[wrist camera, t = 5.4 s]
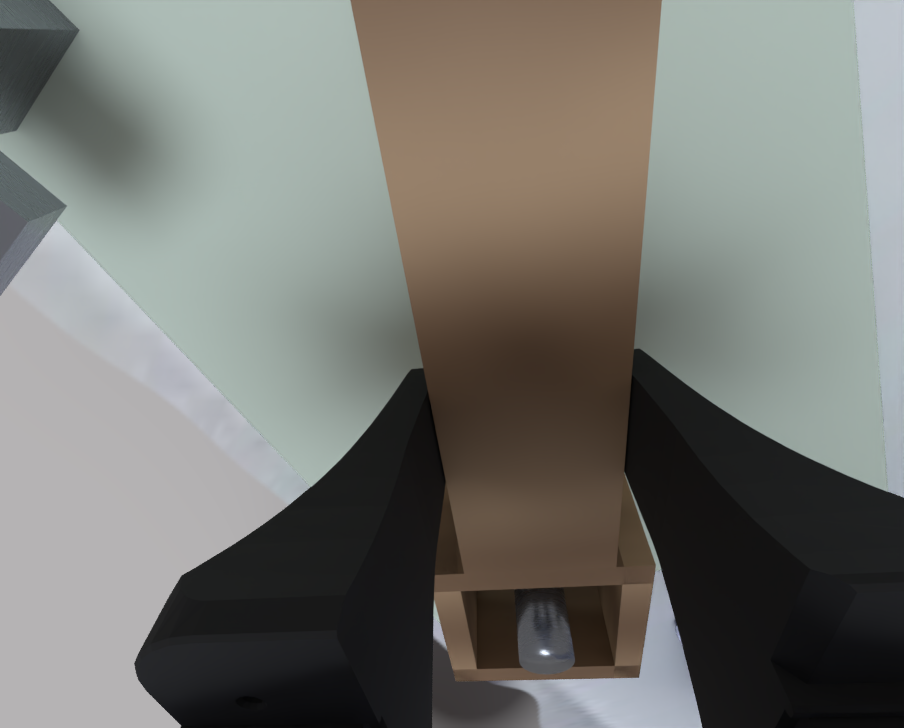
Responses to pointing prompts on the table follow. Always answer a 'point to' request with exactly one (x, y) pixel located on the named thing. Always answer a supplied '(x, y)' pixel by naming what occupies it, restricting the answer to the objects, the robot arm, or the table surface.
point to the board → (374, 234)
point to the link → (524, 301)
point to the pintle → (543, 630)
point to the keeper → (4, 108)
